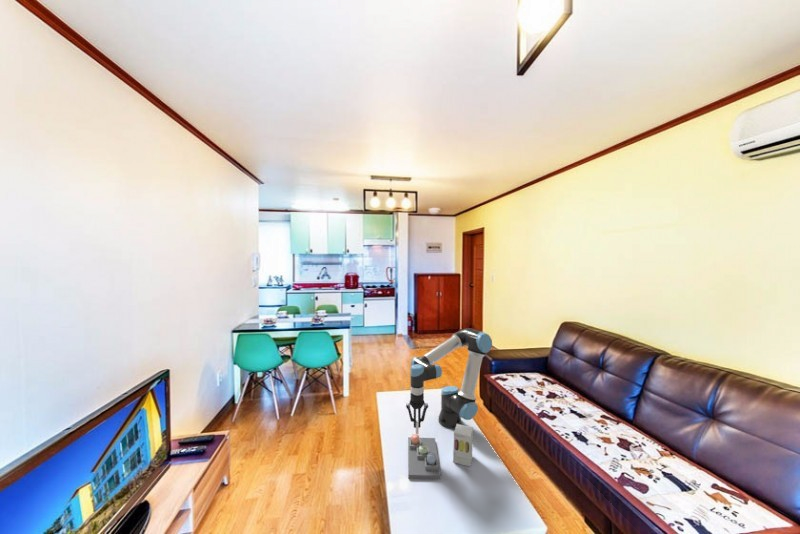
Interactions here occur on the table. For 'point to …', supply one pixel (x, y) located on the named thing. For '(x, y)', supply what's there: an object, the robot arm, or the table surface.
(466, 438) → the supplement box
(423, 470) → the panel
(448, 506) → the table surface
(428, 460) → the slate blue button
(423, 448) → the sage button
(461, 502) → the table surface
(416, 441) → the coral button
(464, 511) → the table surface
